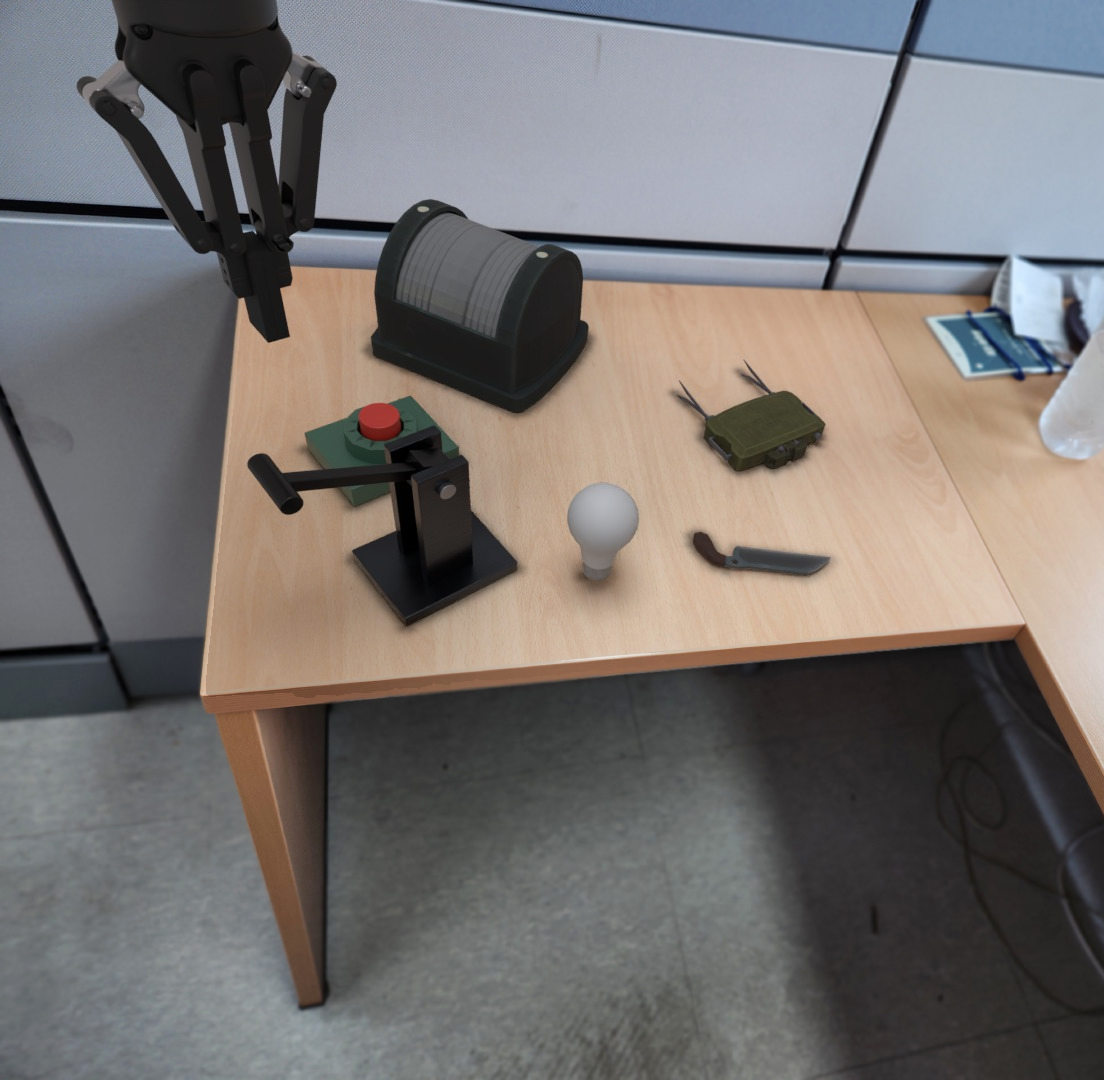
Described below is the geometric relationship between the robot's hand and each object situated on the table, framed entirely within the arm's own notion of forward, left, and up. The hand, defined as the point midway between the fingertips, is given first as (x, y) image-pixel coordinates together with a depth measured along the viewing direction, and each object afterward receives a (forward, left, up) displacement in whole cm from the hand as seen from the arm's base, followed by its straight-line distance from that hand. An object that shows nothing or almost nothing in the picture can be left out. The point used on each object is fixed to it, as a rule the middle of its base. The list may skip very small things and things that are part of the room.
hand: (269, 329), depth 58 cm
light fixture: (+28, +18, -23) cm, 40 cm away
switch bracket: (+7, -7, -23) cm, 25 cm away
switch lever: (+1, -7, -10) cm, 12 cm away
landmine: (+46, -8, -23) cm, 52 cm away
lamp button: (+10, +7, -19) cm, 23 cm away
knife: (+33, -24, -23) cm, 47 cm away
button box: (+10, +7, -23) cm, 26 cm away
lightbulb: (+18, -16, -23) cm, 34 cm away
